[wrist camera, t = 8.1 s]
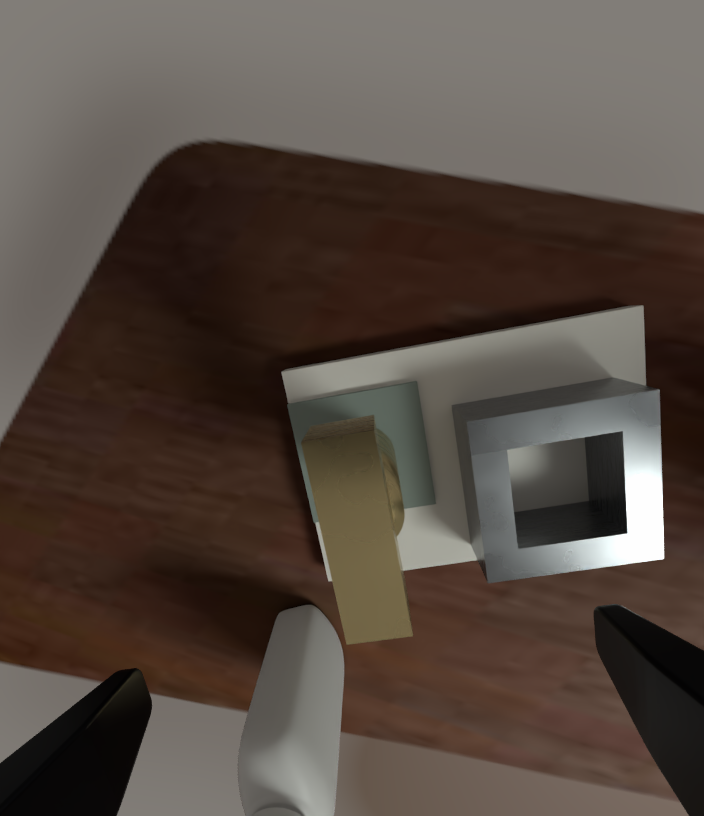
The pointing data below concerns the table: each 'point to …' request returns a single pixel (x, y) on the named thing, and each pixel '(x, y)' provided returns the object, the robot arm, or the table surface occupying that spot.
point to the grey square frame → (606, 472)
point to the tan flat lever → (360, 525)
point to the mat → (392, 415)
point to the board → (477, 380)
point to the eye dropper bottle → (294, 720)
